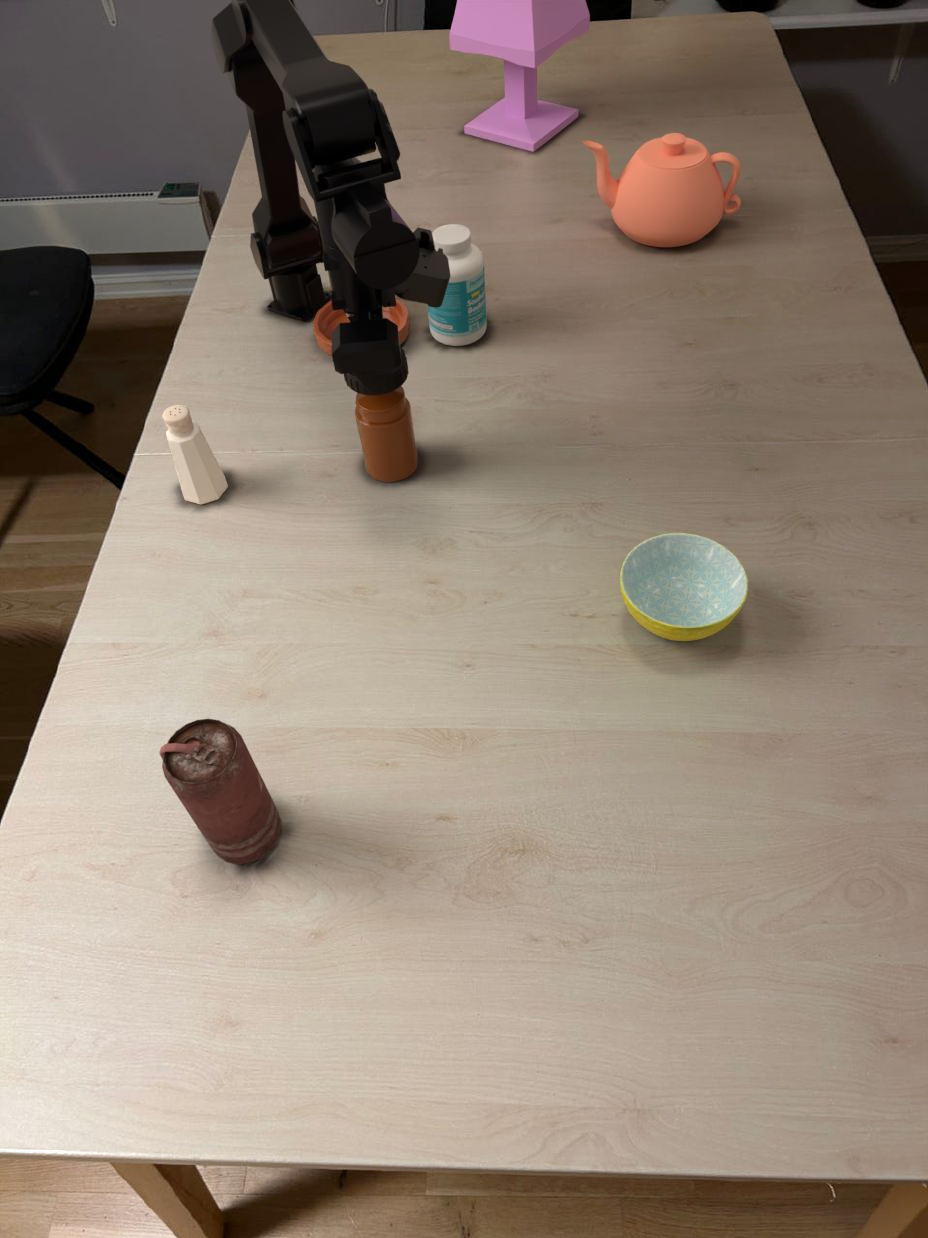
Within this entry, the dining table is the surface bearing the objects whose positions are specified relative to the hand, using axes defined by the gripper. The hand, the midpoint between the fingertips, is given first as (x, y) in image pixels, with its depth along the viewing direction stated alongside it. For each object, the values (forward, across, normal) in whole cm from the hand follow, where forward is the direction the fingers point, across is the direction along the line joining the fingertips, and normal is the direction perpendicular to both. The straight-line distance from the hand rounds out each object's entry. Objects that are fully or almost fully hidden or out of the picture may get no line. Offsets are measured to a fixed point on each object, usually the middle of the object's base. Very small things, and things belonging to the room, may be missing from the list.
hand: (376, 373), depth 97 cm
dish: (+12, +25, +2) cm, 28 cm away
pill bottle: (+12, +23, -10) cm, 28 cm away
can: (+12, -44, +14) cm, 48 cm away
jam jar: (+12, 0, 0) cm, 12 cm away
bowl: (+12, -27, -26) cm, 40 cm away
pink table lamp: (+12, +79, -26) cm, 84 cm away
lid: (-2, 0, 0) cm, 2 cm away
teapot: (+12, +43, -40) cm, 60 cm away
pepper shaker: (+12, -1, +21) cm, 25 cm away
